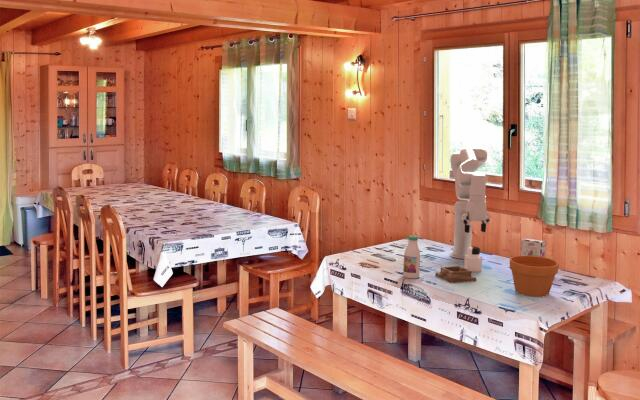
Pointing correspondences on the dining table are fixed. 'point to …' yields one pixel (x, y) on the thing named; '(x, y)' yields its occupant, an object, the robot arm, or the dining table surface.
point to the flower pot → (533, 274)
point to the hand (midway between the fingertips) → (475, 232)
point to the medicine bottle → (473, 259)
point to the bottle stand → (455, 274)
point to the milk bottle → (411, 258)
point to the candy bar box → (533, 247)
